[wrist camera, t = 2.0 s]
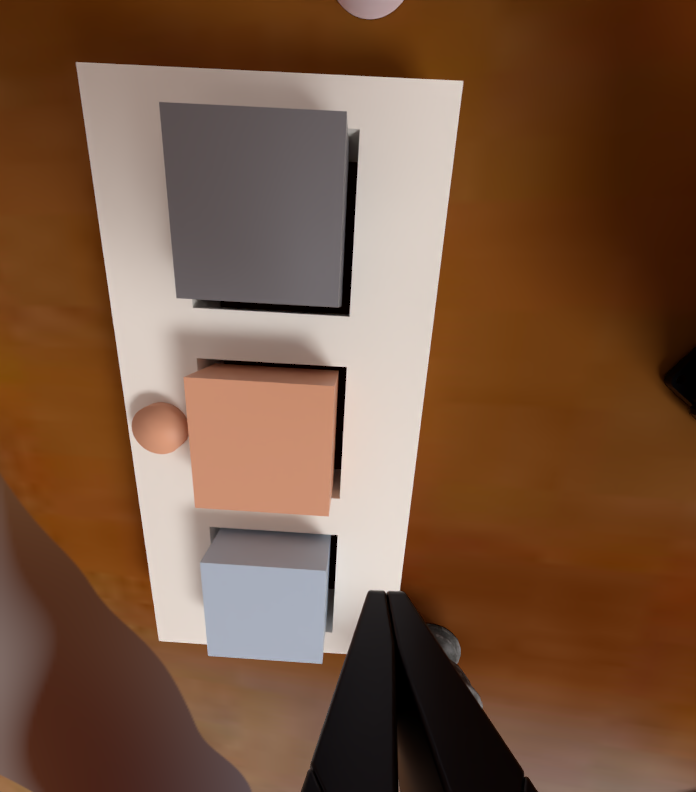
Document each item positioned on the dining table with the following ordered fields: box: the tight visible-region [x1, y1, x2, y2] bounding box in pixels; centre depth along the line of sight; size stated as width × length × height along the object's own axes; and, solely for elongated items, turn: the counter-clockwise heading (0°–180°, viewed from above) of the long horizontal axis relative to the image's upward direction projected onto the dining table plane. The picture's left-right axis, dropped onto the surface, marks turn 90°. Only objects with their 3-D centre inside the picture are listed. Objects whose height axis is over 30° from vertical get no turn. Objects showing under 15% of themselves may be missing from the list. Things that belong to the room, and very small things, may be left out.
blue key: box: [200, 528, 331, 664], centre depth 18 cm, size 6×6×3 cm
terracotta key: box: [183, 363, 339, 516], centre depth 15 cm, size 6×6×3 cm
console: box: [76, 62, 463, 654], centre depth 17 cm, size 28×14×4 cm, turn 177°
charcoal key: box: [159, 102, 349, 307], centre depth 13 cm, size 6×6×3 cm
